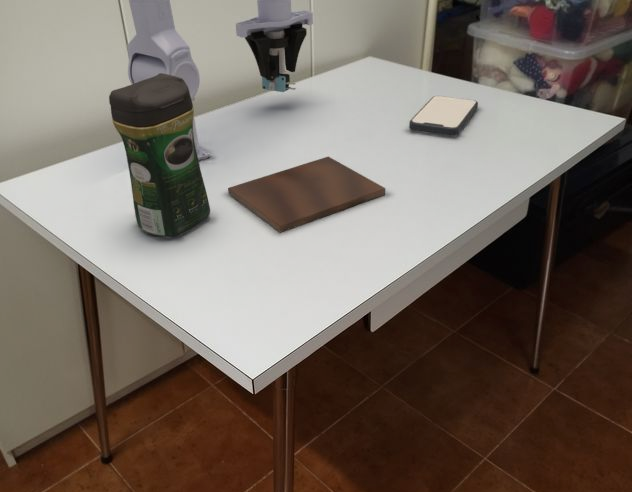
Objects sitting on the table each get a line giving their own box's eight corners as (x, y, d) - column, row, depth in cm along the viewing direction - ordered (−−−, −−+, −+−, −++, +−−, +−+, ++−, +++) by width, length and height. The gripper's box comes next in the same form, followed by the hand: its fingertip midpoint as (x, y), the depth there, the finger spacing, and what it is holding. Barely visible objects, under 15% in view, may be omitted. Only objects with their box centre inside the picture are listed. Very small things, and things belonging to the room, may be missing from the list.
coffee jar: (179, 201, 89) (155, 64, 77) (220, 216, 86) (201, 75, 74) (127, 229, 84) (92, 85, 71) (168, 246, 80) (138, 98, 68)
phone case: (432, 103, 118) (406, 131, 107) (433, 94, 117) (407, 122, 106) (478, 109, 115) (456, 138, 104) (480, 100, 114) (458, 129, 103)
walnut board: (280, 232, 82) (279, 226, 81) (228, 194, 91) (227, 187, 90) (385, 194, 90) (385, 188, 89) (328, 162, 98) (328, 156, 98)
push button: (301, 88, 116) (301, 29, 109) (287, 96, 112) (286, 35, 106) (270, 83, 118) (268, 25, 112) (255, 91, 114) (252, 31, 108)
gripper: (296, -21, 110) (298, 61, 119) (223, -10, 104) (232, 76, 112) (319, -15, 105) (320, 70, 114) (245, -3, 99) (252, 85, 108)
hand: (278, 73), depth 113 cm, fingers closed on push button, 5 cm apart
